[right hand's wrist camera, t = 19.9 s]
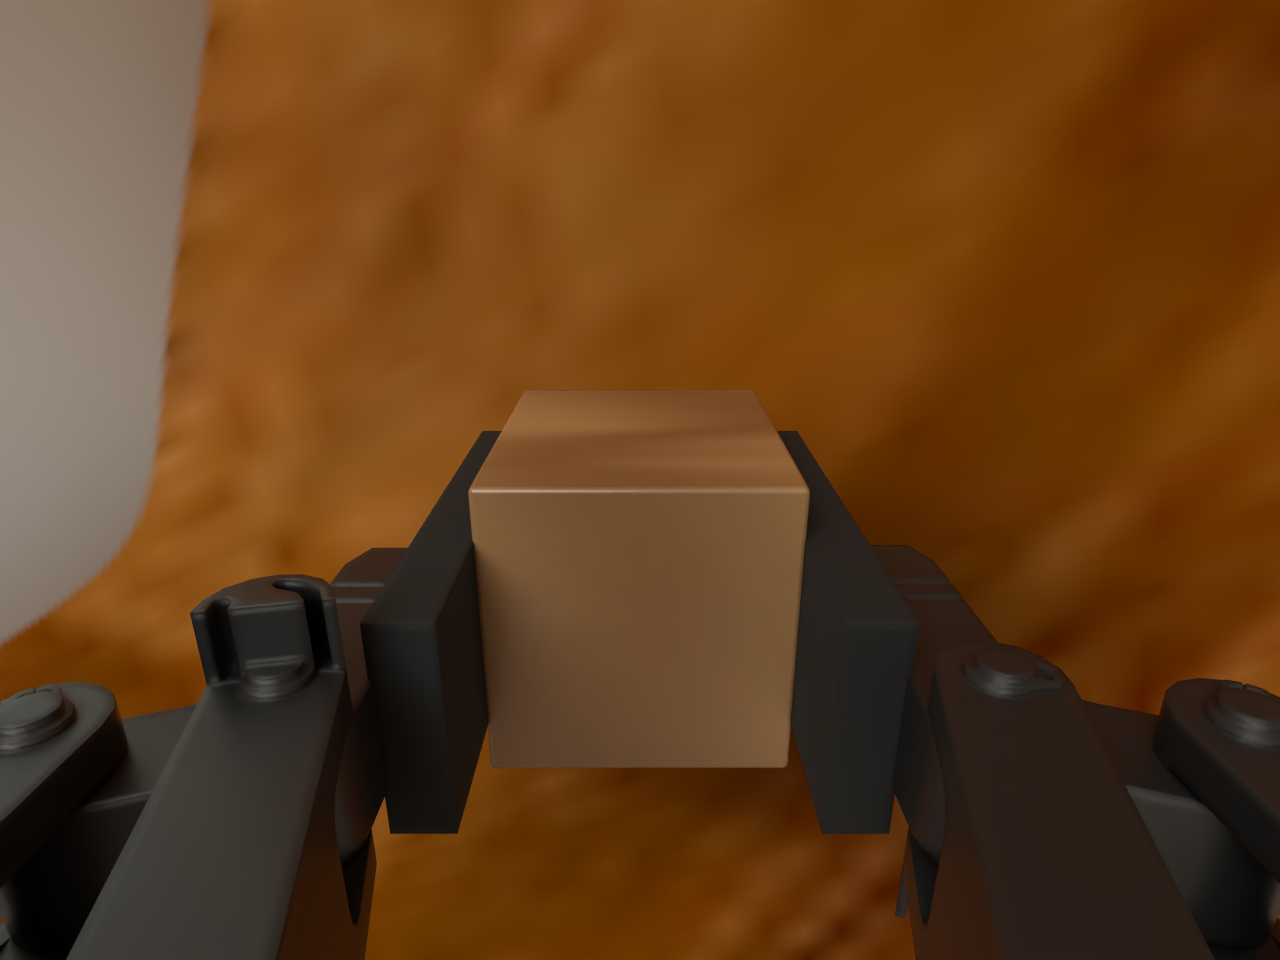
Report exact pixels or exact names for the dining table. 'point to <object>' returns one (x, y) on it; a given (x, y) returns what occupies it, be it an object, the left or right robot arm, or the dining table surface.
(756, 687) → the block
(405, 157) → the dining table surface
